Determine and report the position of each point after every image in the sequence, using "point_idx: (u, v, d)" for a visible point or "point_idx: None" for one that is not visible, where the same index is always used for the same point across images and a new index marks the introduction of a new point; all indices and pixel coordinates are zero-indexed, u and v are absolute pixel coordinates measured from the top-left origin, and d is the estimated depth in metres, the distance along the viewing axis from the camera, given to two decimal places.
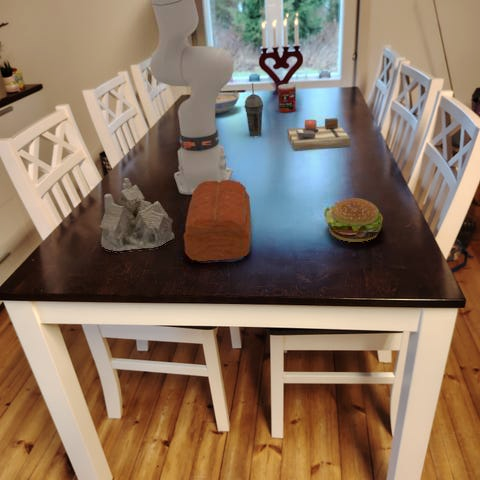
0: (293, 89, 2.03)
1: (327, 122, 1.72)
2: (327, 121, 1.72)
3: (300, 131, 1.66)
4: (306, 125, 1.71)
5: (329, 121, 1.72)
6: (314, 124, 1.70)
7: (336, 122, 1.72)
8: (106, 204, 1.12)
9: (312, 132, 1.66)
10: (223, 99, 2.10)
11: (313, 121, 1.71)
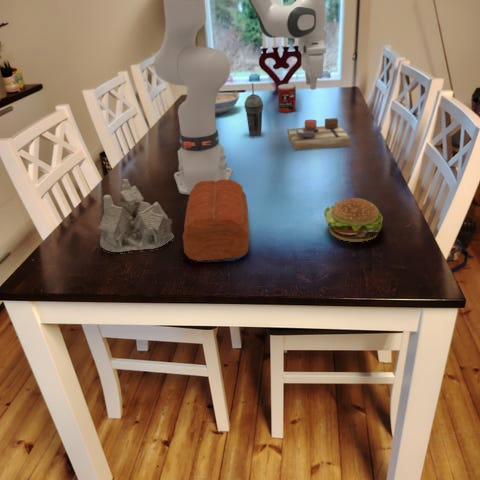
0: (293, 89, 2.03)
1: (327, 122, 1.72)
2: (327, 121, 1.72)
3: (300, 131, 1.66)
4: (306, 125, 1.71)
5: (329, 121, 1.72)
6: (314, 124, 1.70)
7: (336, 122, 1.72)
8: (105, 205, 1.12)
9: (312, 132, 1.66)
10: (223, 99, 2.10)
11: (313, 121, 1.71)
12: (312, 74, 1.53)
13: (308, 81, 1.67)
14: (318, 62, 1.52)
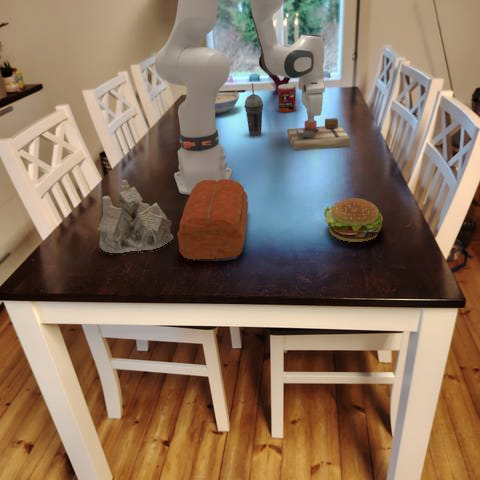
0: (293, 89, 2.03)
1: (327, 122, 1.72)
2: (327, 121, 1.72)
3: (300, 131, 1.66)
4: (306, 125, 1.71)
5: (329, 121, 1.72)
6: (314, 124, 1.70)
7: (336, 122, 1.72)
8: (104, 206, 1.11)
9: (312, 132, 1.66)
10: (223, 99, 2.10)
11: None
12: (312, 112, 1.60)
13: None
14: (317, 101, 1.58)
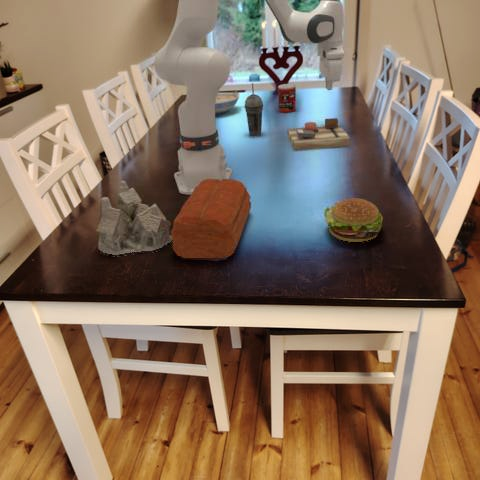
0: (293, 89, 2.03)
1: (327, 122, 1.72)
2: (327, 121, 1.72)
3: (300, 131, 1.66)
4: (306, 127, 1.71)
5: (329, 121, 1.72)
6: (314, 127, 1.71)
7: (336, 122, 1.72)
8: (103, 207, 1.11)
9: (312, 132, 1.66)
10: (223, 99, 2.10)
11: (313, 124, 1.71)
12: (331, 78, 1.61)
13: None
14: (337, 66, 1.60)
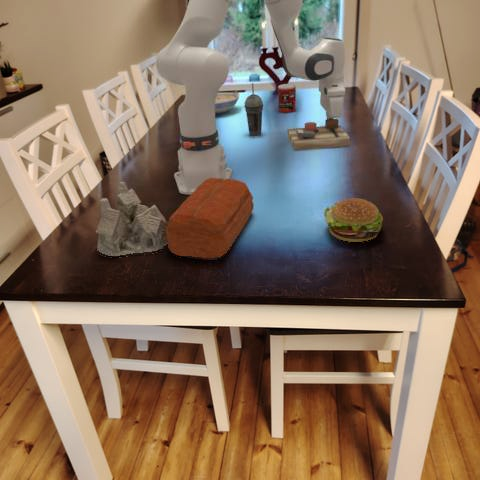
0: (293, 89, 2.03)
1: (328, 123, 1.71)
2: (328, 122, 1.71)
3: (300, 131, 1.66)
4: (306, 127, 1.71)
5: (330, 122, 1.71)
6: (314, 127, 1.71)
7: (337, 123, 1.71)
8: (102, 208, 1.10)
9: (312, 132, 1.66)
10: (223, 99, 2.10)
11: (313, 124, 1.71)
12: (332, 114, 1.63)
13: None
14: (338, 103, 1.62)
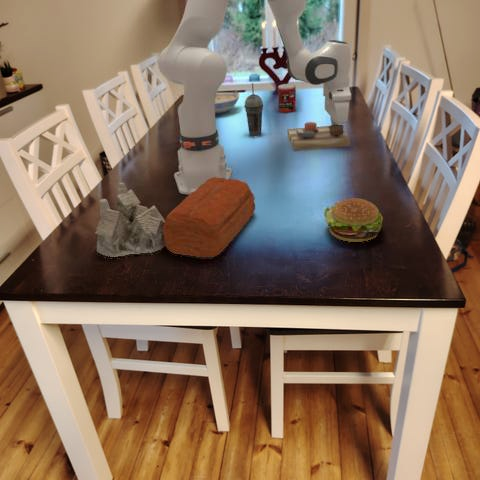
0: (293, 89, 2.03)
1: (332, 129, 1.65)
2: (332, 128, 1.65)
3: (300, 131, 1.66)
4: (306, 127, 1.71)
5: (334, 128, 1.65)
6: (314, 127, 1.71)
7: (341, 129, 1.65)
8: (101, 209, 1.10)
9: (312, 132, 1.66)
10: (223, 99, 2.10)
11: (313, 124, 1.71)
12: (337, 120, 1.57)
13: None
14: (343, 108, 1.55)
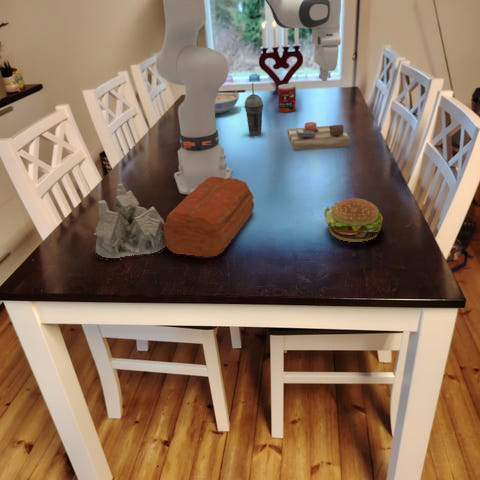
0: (293, 89, 2.03)
1: (332, 129, 1.65)
2: (332, 128, 1.65)
3: (300, 131, 1.66)
4: (306, 127, 1.71)
5: (334, 128, 1.65)
6: (314, 127, 1.71)
7: (342, 129, 1.65)
8: (100, 211, 1.09)
9: (312, 132, 1.66)
10: (223, 99, 2.10)
11: (313, 124, 1.71)
12: (326, 66, 1.49)
13: None
14: (332, 53, 1.47)
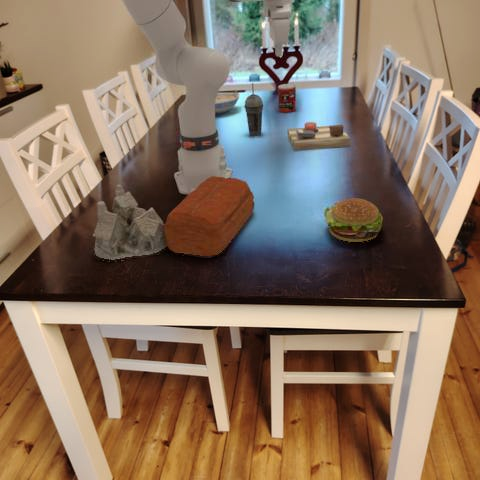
0: (293, 89, 2.03)
1: (332, 129, 1.65)
2: (332, 128, 1.65)
3: (300, 131, 1.66)
4: (306, 127, 1.71)
5: (334, 128, 1.65)
6: (314, 127, 1.71)
7: (342, 129, 1.65)
8: (99, 212, 1.09)
9: (312, 132, 1.66)
10: (223, 99, 2.10)
11: (313, 124, 1.71)
12: (277, 40, 1.43)
13: None
14: (283, 26, 1.41)
